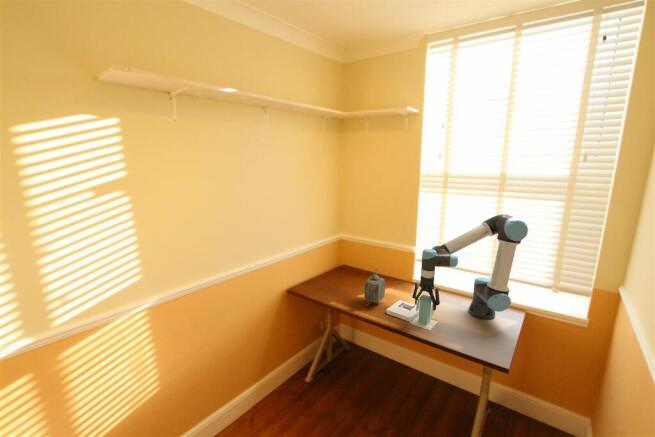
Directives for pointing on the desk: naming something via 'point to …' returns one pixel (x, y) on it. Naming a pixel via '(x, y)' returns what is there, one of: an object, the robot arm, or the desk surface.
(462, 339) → the desk surface
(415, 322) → the pad
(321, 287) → the desk surface
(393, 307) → the white square socket base
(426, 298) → the teal square pillar
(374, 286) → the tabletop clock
